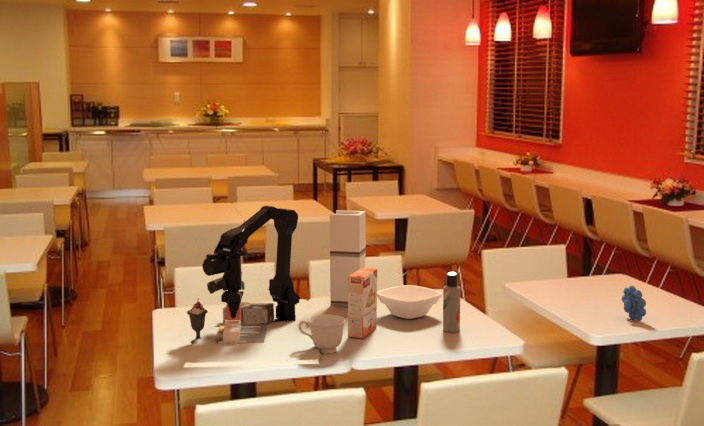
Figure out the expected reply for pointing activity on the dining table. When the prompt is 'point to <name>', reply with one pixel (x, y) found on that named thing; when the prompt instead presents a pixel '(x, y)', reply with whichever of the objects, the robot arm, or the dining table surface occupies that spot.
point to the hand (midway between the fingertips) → (234, 316)
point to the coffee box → (255, 313)
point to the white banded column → (345, 251)
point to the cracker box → (362, 302)
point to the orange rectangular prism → (228, 315)
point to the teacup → (325, 331)
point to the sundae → (197, 318)
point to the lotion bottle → (451, 303)
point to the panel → (244, 334)
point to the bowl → (409, 300)
